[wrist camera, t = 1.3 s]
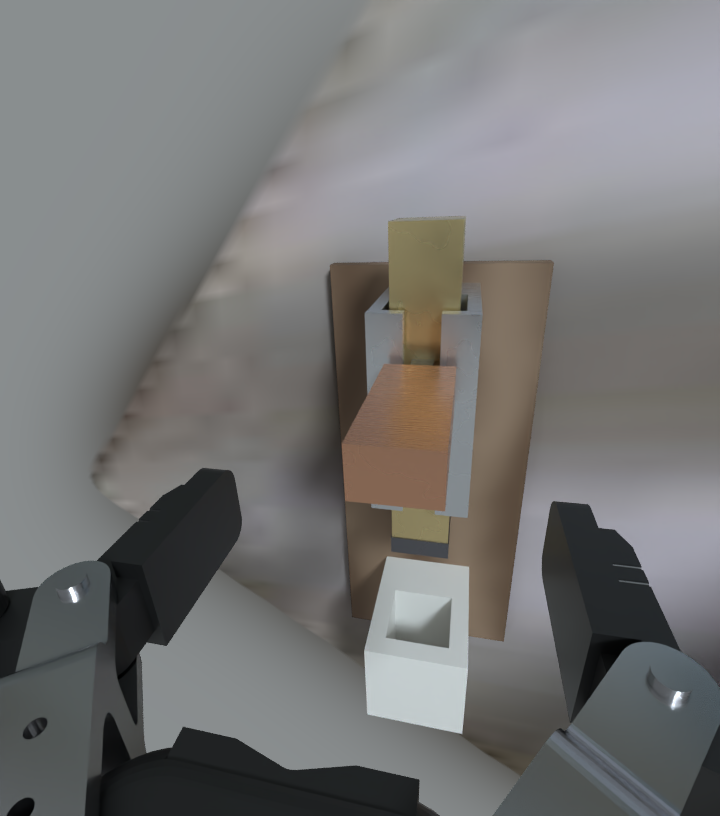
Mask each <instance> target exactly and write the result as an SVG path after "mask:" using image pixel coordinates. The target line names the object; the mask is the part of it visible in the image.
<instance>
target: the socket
mask: <svg viewBox="0 0 720 816" xmlns="http://www.w3.org/2000/svg"><path fill="white" fill-rule="evenodd" d="M468 622H469V567H466V566H459V565H451V564H443V563H435V562H428V561H420V560H412V559H404V558H397V557H389V556H387V558H386V562H385V566H384V570H383V575H382V579H381V583H380V587H379V591H378V595H377V600H376V604H375V608H374V612H373V616H372V620H371V625H370V629H369V633H368V637H367V641H366V645H365V650H364V656H365V676H366V693H367V694H366V695H367V714H369V715H373V716H378V717H383V718H388V719H393V720H397V721H403V722H407V723H412V724H417V725H422V726H427V727H431V728H436V729H441V730H446V731H451V732H455V733H460V734H462V730H463V719H464V707H465V696H466V685H467V674H468Z"/></svg>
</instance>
